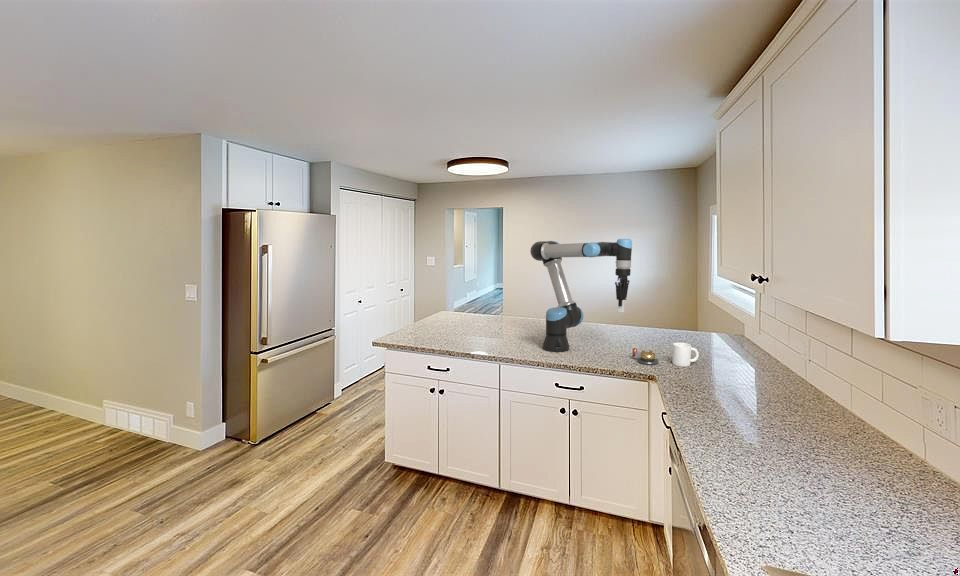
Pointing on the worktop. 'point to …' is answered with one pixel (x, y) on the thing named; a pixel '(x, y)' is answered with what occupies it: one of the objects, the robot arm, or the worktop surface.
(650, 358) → the gold rounded piece
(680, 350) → the mug
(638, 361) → the base plate
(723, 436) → the worktop surface
